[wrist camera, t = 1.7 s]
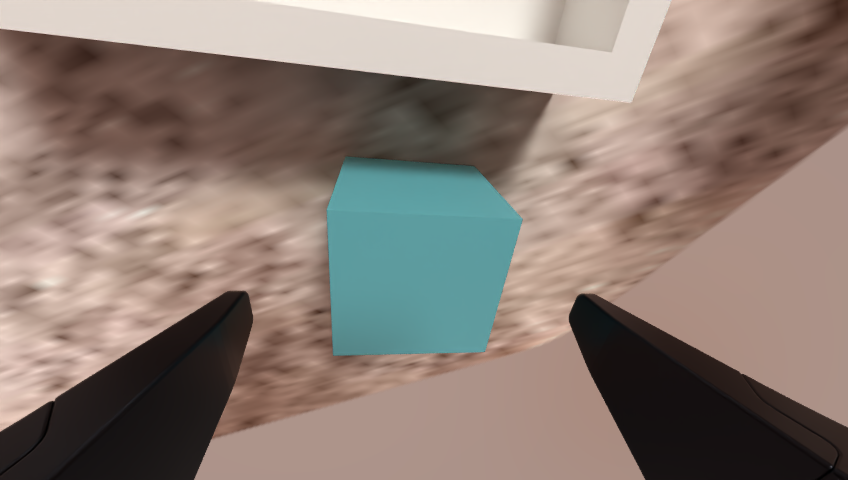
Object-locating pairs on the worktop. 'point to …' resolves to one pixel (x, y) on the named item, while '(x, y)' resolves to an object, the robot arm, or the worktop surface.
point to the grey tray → (387, 36)
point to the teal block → (416, 257)
